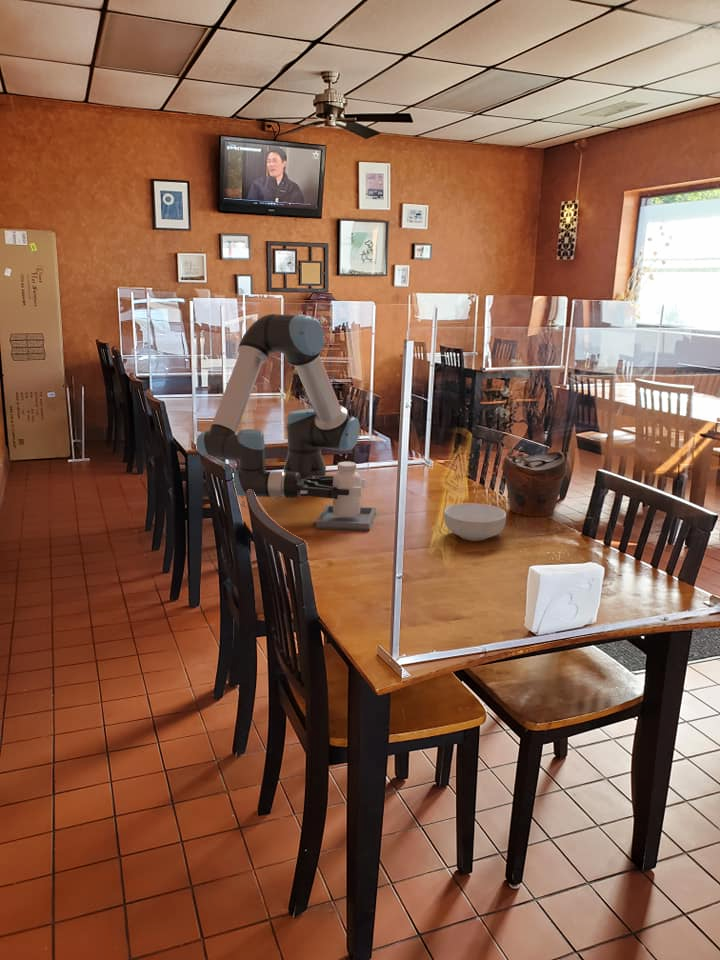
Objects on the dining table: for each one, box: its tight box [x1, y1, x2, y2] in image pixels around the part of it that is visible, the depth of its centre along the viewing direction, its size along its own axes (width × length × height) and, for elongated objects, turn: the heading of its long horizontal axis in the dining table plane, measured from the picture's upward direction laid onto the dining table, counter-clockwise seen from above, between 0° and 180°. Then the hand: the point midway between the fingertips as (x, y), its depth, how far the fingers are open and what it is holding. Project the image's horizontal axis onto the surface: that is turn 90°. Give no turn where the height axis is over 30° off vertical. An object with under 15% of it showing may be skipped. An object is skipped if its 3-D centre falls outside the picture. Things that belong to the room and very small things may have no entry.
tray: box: [315, 504, 377, 532], centre depth 212 cm, size 15×15×2 cm
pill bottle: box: [332, 461, 362, 517], centre depth 210 cm, size 8×8×15 cm
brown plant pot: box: [501, 451, 567, 517], centre depth 219 cm, size 18×20×18 cm
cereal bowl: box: [443, 502, 507, 542], centre depth 199 cm, size 17×17×7 cm
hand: (363, 487), depth 209 cm, fingers closed on pill bottle, 8 cm apart
